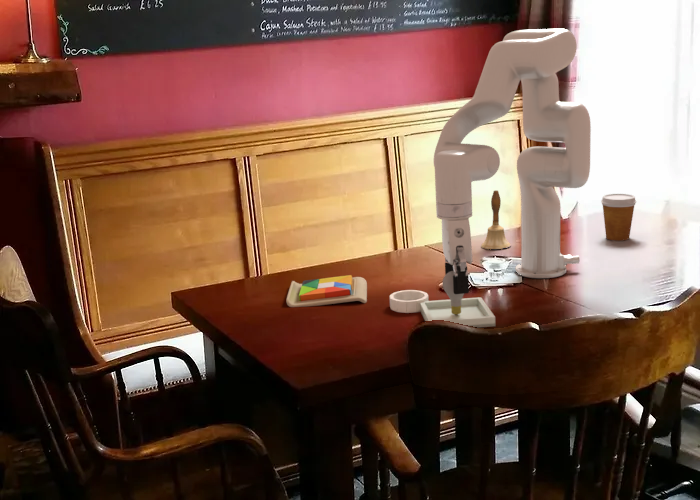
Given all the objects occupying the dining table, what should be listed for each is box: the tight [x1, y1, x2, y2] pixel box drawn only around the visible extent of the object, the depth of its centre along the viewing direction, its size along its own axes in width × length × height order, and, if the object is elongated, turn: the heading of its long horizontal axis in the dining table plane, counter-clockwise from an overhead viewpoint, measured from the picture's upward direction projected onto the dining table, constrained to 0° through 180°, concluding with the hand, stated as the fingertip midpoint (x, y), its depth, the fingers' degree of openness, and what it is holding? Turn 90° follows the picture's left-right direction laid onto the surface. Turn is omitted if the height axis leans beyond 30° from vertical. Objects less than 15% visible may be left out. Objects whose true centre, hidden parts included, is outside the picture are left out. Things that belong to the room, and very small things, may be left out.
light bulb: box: [442, 271, 465, 315], centre depth 192 cm, size 5×6×10 cm
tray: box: [419, 296, 496, 328], centre depth 193 cm, size 14×14×2 cm
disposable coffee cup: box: [600, 193, 637, 242], centre depth 251 cm, size 10×10×12 cm
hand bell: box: [480, 190, 511, 251], centre depth 249 cm, size 8×8×16 cm
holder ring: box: [389, 289, 430, 314], centre depth 202 cm, size 9×9×3 cm
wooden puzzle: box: [286, 274, 368, 308], centre depth 215 cm, size 18×19×4 cm
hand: (456, 286), depth 192 cm, fingers open, 9 cm apart
